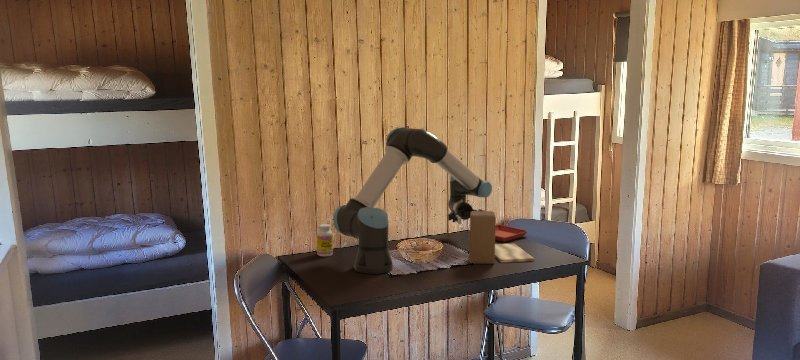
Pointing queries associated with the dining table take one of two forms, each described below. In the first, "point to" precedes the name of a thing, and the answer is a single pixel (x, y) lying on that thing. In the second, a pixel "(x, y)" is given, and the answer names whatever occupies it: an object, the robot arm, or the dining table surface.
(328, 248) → the supplement bottle
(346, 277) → the dining table surface
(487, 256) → the block
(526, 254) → the board
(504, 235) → the plant saucer
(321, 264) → the dining table surface
